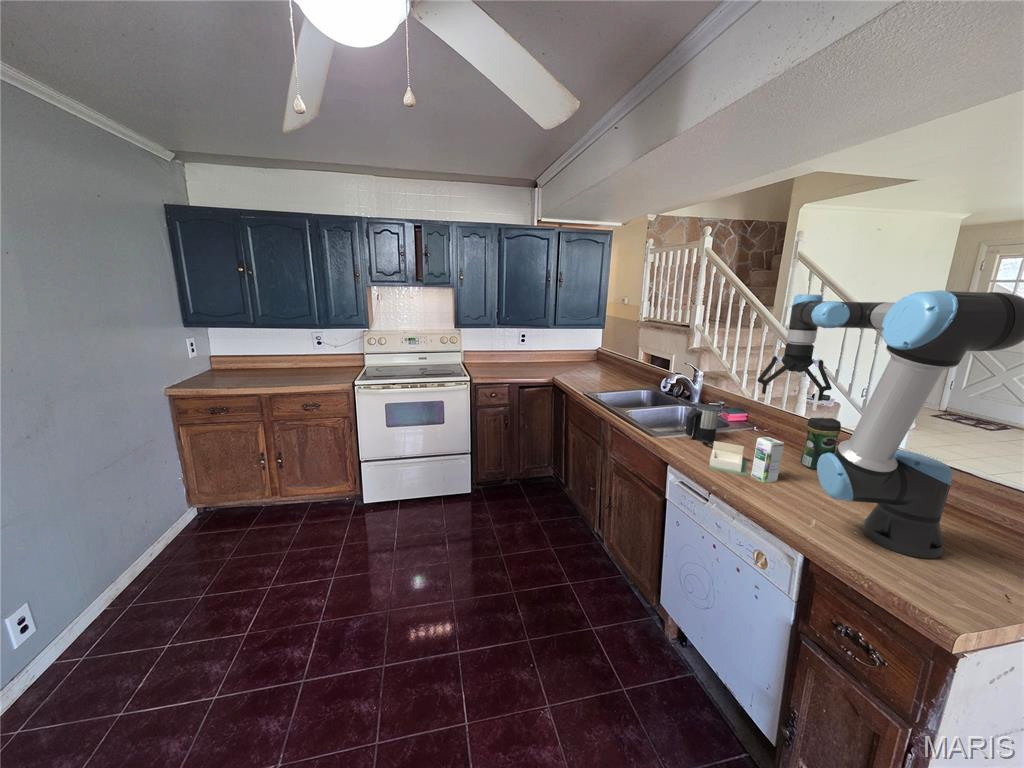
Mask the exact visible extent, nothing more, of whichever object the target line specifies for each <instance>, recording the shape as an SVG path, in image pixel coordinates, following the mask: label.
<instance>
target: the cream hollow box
mask: <svg viewBox="0 0 1024 768" xmlns="http://www.w3.org/2000/svg"><path fill="white" fill-rule="evenodd" d="M744 448H745V446H743V445H740V444H733V443H727V442H721V441H716V440H715V441H714V444H713V446H712V451H711V454H710V457H709V458H710V459H709V465H708V467H709V466H711V467H716V468H721V469H726V470H731V471H736V472H741V467H742V459H743V455H744Z"/></svg>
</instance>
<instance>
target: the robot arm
mask: <svg viewBox="0 0 1024 768" xmlns="http://www.w3.org/2000/svg"><path fill="white" fill-rule="evenodd" d="M823 298H824V297H823V296H822V295H821V294H810V293H809V294H807V293H806V294H805V293H804V294H801V293H800V294H796V295H795V296H794V297H793V302H792V305H791V310H790V311H791V312H790V318H789V322H788V324H789V325H788V330H787V335H786V344H785V347H784V348H785V349H784V354H783V356H782V357H781V356H777V355H773V356H772V358H771V362H770V363H769V364H768V365H767V367H766V368H765V369H764V370H763V371H762V373H761V374H760V376H759V377H758V378H757V382H758V383H761V384H762V389H761V394H763V395H765V396H764V401H763V404H764V405H767V403H768V398H769V393H770V383H771V382H772V381H773V380H774V379H776V378H778V377H779V376H780V375H781V374H783V373H784V372H786V371H789V372H796V373H803V372H805V374H806V375H807V376H808V377H809V379H811V381H812V382H813V384H814V385H815V386H816V388H817V389H815V393H814V398H813V403H812V411H813V412H816V411H817V406H818V402H822V401H823V397H824V394H825V393H824V392H825V391H831V390H832V386H831V383H830V381H829V378H828V376H827V373H826V371H825V368H824V360H823V359H815V360H814V359H813V355H814V348H815V346H814V344H815V343H816V338H817V332H818V327H820V328H823V329H836V328H840V329H847V328H848V329H868V330H869V329H871V330H878V331H879V330H882V331H881V338H882V339H883V342H885V344H886V347H885V348H886V351H887V353H888V354H889V355H890V358H889V360H888V363H887V365H886V367H885V368H884V370H883V373H882V375H881V377H880V379H879V381H878V382H877V384H876V386H875V388H874V391H873V392H872V395H871V396H870V398H869V399H868V403H867V404H866V407H865V408H864V410H863V412H862V414H861V417H860V418H859V420H858V423H857V424H856V426H855V428H854V431H853V432H852V435H851V436H850V438H849V439H847V440H842V441H841V442H839V444H838V446H837V447H836V448H835V453H825V454H822V455H821V456H820V458H819V460H818V463H817V469H816V473H817V478H818V482H819V484H820V487H821V488H822V489H823V492H824V493H825V494H826V495H827V496H829V497H830V498H831V499H834V500H837V501H844V502H845V501H846V502H850V503H852V502H855V503H869V504H870V503H871V504H876V505H875V507H874V508H873V509H872V510H871V512H869V514H868V515H867V517H866V518H865V519H864V521H863V523H862V529H861V530H862V532H863V534H864V535H865V536H866V537H867V538H868V539H869V540H871V541H873V542H874V543H876V544H878V545H880V546H881V547H884V548H886V549H888V550H891V551H892V552H895V553H898V552H899V554H902V553H903V554H902V555H905V554H907V555H906V556H909V555H911V556H910V557H913V556H915V557H914V558H918V557H921V558H920V559H926V558H934V559H937V557H938V558H940V557H941V556H942V555H943V554H942V553H943V551H944V539H943V535H942V531H941V525H940V524H941V523H940V521H941V518H942V516H943V512H944V508H945V505H946V502H947V500H948V495H949V492H950V489H951V486H952V478H953V475H954V473H953V470H952V468H951V467H950V465H948V464H946V463H945V462H942V461H940V460H938V459H935V458H933V457H930V456H926V455H923V454H920V453H916V452H912V451H907V450H902V449H899V448H900V446H901V444H902V442H903V440H904V439H905V437H906V435H907V433H908V432H909V431H910V429H911V427H912V425H913V423H914V422H915V420H916V418H917V416H918V415H919V413H920V411H921V410H922V407H924V404H925V403H926V401H927V400H928V397H929V396H930V394H931V393H932V391H933V389H934V388H935V385H936V384H937V383H938V380H939V378H940V377H941V375H942V374H943V373H944V371H946V370H949V369H952V368H955V367H957V366H958V365H959V364H960V363H961V361H962V359H963V358H964V356H965V354H966V353H967V352H994V351H1002V350H1005V349H1008V348H1012V347H1015V346H1017V345H1019V344H1021V343H1022V342H1024V297H1021V296H1018V295H1016V294H1012V293H1008V292H996V291H994V292H993V291H992V292H991V291H989V292H988V291H987V292H986V291H984V292H983V291H981V292H980V291H952V290H951V291H950V290H949V291H948V290H947V291H946V290H941V289H940V290H938V289H937V290H932V291H918V292H913V293H909V294H908V295H906V296H903V297H901V298H900V299H898V300H897V301H896V302H888V301H887V302H885V301H881V302H878V301H877V302H875V301H874V302H873V301H872V302H871V301H870V302H869V301H864V302H863V301H837V300H836V301H835V300H832V301H831V300H825V301H823ZM780 362H782V364H783V365H782V366H781V367H780V368H779V369H778V370H776V371H775V372H773V373H772V374H771V375H770V376H768V377H767V378H766V376H767V375H768V374H769V372H770V371H771V370H772V369H773V368H774V367H775V365H776V364H779V363H780ZM812 365H815V367H816V368H818V372H820V376H821V378H822V381H823V383H824V385H822V383H821V382H820V381H819V379H817V378H816V376H815V375H814V373H813V372H812V371H811V370H810V367H811V366H812Z"/></svg>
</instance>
